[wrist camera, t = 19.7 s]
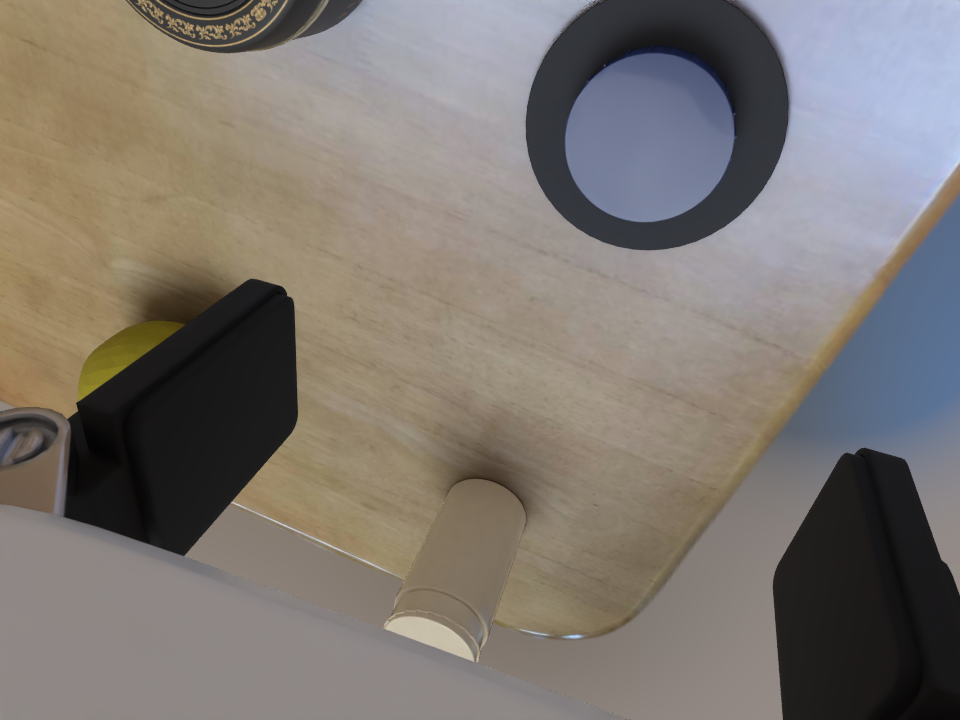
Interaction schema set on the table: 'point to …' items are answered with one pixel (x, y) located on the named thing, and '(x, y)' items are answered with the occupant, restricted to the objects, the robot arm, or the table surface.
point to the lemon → (122, 352)
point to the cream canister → (461, 570)
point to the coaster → (689, 26)
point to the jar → (242, 21)
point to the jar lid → (650, 134)
